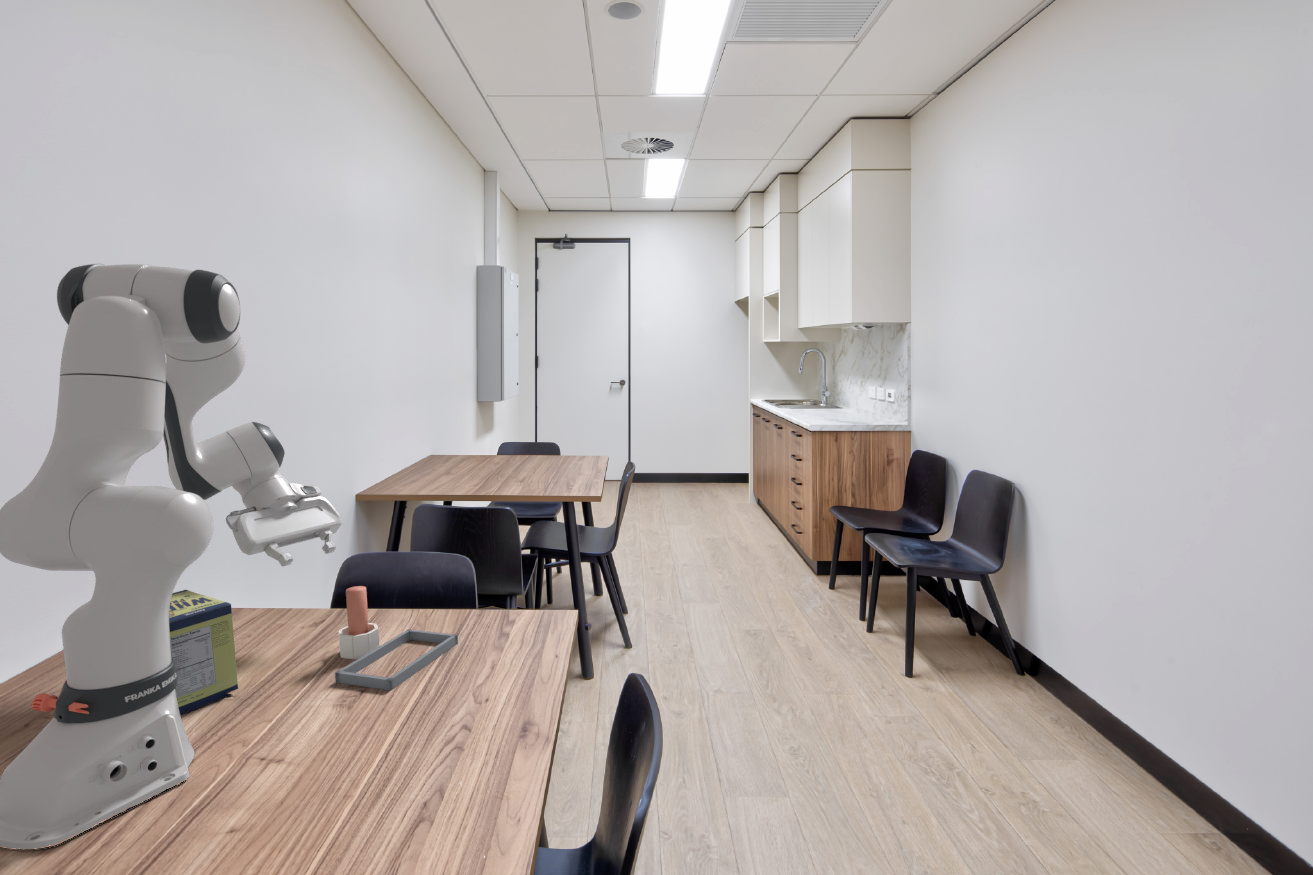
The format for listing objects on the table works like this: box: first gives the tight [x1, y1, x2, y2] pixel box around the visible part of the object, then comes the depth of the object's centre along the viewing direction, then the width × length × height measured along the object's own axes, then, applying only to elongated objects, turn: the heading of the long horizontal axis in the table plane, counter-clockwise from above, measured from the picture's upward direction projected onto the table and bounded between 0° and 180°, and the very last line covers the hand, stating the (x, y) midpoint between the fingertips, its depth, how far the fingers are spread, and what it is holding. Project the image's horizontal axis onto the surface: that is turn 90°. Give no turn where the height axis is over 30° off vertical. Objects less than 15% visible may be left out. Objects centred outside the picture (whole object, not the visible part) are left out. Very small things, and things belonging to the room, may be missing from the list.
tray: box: [334, 628, 459, 691], centre depth 126 cm, size 20×11×2 cm, turn 164°
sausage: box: [345, 585, 369, 636], centre depth 130 cm, size 4×4×12 cm
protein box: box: [169, 589, 239, 716], centre depth 115 cm, size 10×16×16 cm
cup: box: [338, 622, 380, 660], centre depth 130 cm, size 7×7×5 cm
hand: (310, 557), depth 134 cm, fingers open, 8 cm apart
